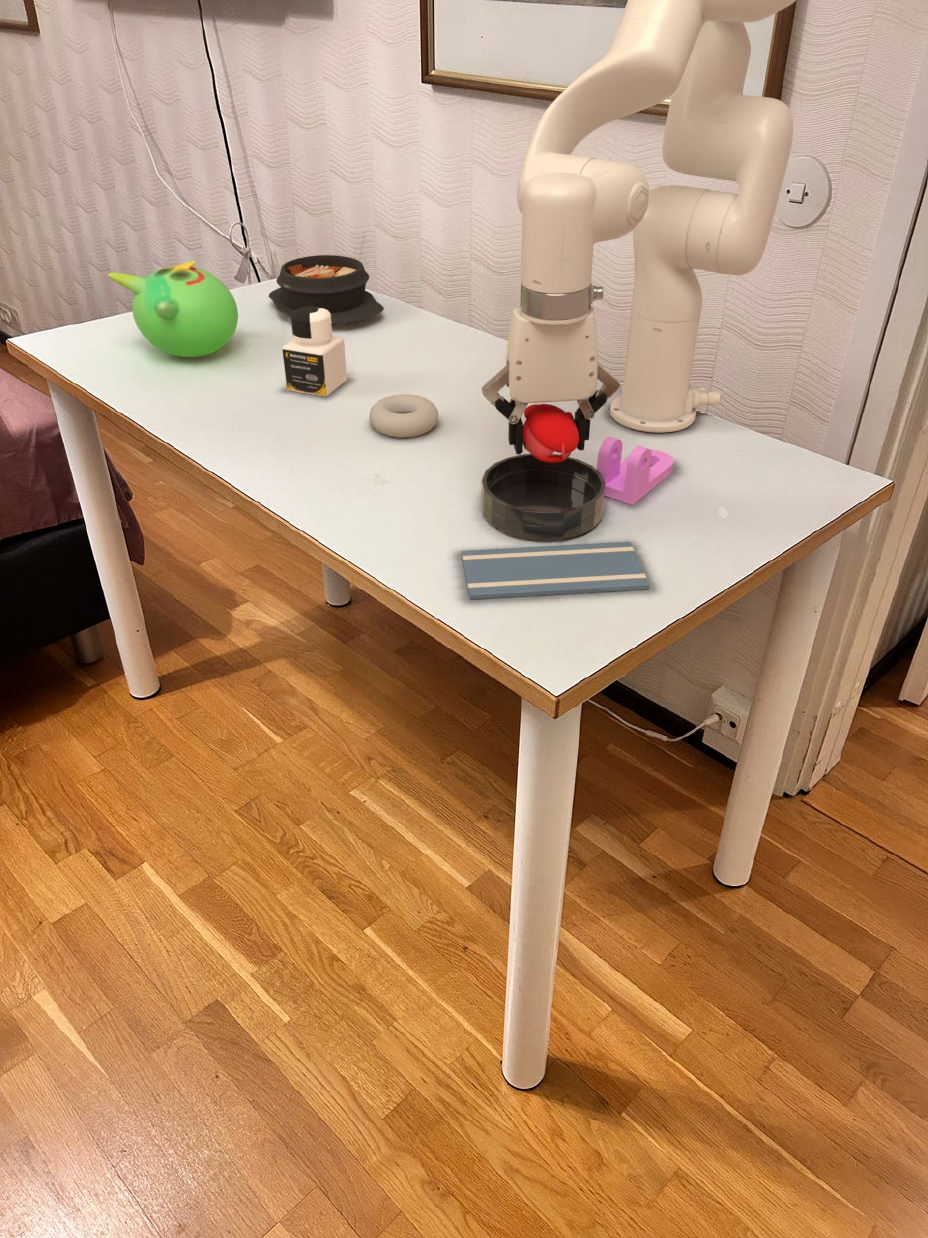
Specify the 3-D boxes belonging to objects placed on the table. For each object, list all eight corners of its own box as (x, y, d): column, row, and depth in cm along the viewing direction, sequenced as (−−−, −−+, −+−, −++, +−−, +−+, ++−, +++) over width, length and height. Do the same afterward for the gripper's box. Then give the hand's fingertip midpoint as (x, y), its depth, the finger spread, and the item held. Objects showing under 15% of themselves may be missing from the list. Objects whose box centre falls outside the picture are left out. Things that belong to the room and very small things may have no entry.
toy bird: (262, 352, 160) (250, 263, 151) (179, 381, 150) (161, 288, 141) (199, 327, 169) (184, 243, 160) (116, 353, 159) (96, 265, 150)
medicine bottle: (286, 390, 147) (277, 314, 140) (309, 374, 152) (301, 299, 145) (326, 397, 145) (319, 320, 137) (348, 380, 150) (342, 305, 143)
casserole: (246, 307, 178) (240, 262, 173) (324, 285, 188) (320, 242, 183) (327, 341, 163) (323, 293, 158) (407, 316, 174) (405, 269, 169)
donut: (362, 439, 134) (430, 444, 132) (359, 416, 132) (429, 421, 130) (380, 409, 142) (445, 414, 140) (379, 388, 139) (444, 392, 138)
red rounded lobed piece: (590, 455, 113) (594, 409, 109) (559, 473, 109) (562, 426, 106) (539, 434, 117) (541, 389, 113) (507, 451, 114) (508, 406, 110)
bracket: (632, 505, 118) (638, 455, 114) (594, 491, 121) (599, 442, 117) (679, 466, 127) (686, 418, 123) (642, 454, 129) (648, 407, 125)
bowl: (588, 479, 124) (591, 450, 121) (614, 539, 112) (617, 509, 109) (475, 484, 123) (476, 455, 120) (489, 546, 111) (490, 515, 108)
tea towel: (629, 545, 111) (629, 540, 110) (648, 589, 104) (649, 584, 103) (461, 554, 109) (461, 549, 109) (469, 599, 102) (469, 594, 102)
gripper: (625, 284, 105) (612, 428, 116) (471, 291, 104) (473, 437, 115) (641, 307, 99) (626, 457, 110) (479, 316, 98) (480, 466, 109)
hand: (548, 446), depth 113 cm, fingers closed on red rounded lobed piece, 6 cm apart
